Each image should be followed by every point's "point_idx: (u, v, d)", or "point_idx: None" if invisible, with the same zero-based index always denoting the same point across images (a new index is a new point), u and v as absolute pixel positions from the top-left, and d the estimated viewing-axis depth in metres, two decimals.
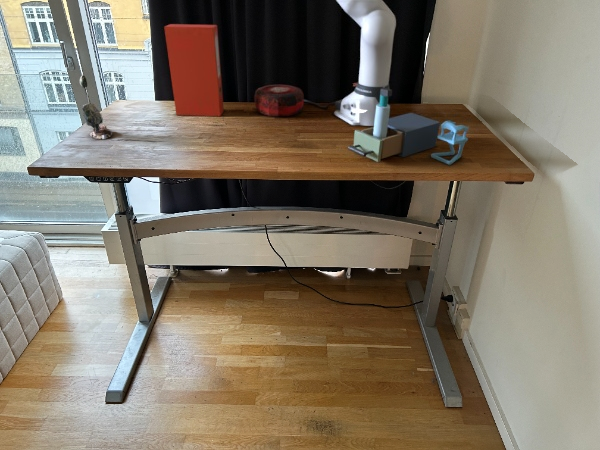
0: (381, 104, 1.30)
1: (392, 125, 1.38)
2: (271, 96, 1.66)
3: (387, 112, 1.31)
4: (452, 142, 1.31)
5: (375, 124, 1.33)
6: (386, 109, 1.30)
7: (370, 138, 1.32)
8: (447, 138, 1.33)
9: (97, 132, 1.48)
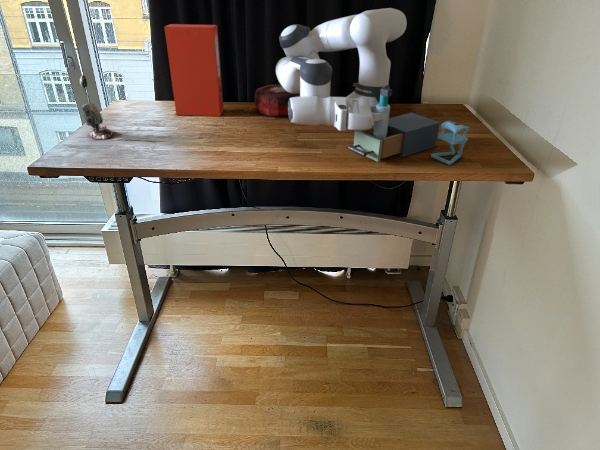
0: (381, 104, 1.30)
1: (392, 125, 1.38)
2: (271, 96, 1.66)
3: (387, 112, 1.31)
4: (452, 142, 1.31)
5: (375, 124, 1.33)
6: (386, 109, 1.30)
7: (370, 138, 1.32)
8: (447, 138, 1.33)
9: (97, 132, 1.48)
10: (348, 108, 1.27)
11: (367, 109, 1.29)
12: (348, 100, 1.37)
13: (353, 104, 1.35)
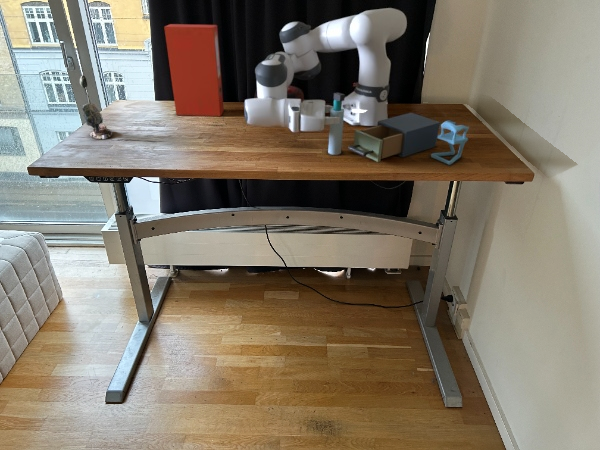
0: (335, 108, 1.32)
1: (392, 125, 1.38)
2: None
3: (340, 117, 1.32)
4: (452, 142, 1.31)
5: (330, 128, 1.35)
6: (340, 113, 1.32)
7: (370, 138, 1.32)
8: (447, 138, 1.33)
9: (97, 132, 1.48)
10: (301, 110, 1.28)
11: (321, 111, 1.31)
12: (304, 102, 1.39)
13: (309, 106, 1.36)
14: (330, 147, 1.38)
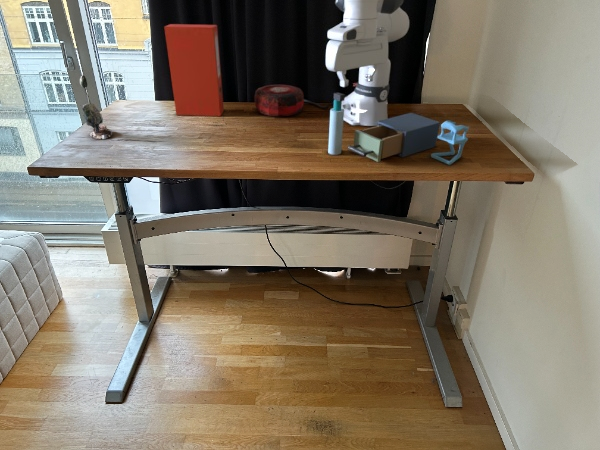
0: (335, 108, 1.32)
1: (392, 125, 1.38)
2: (271, 96, 1.66)
3: (340, 117, 1.32)
4: (452, 142, 1.31)
5: (330, 128, 1.35)
6: (340, 113, 1.32)
7: (370, 138, 1.32)
8: (447, 138, 1.33)
9: (97, 132, 1.48)
10: (351, 42, 1.10)
11: (354, 64, 1.15)
12: (380, 39, 1.17)
13: (371, 46, 1.16)
14: (330, 147, 1.38)
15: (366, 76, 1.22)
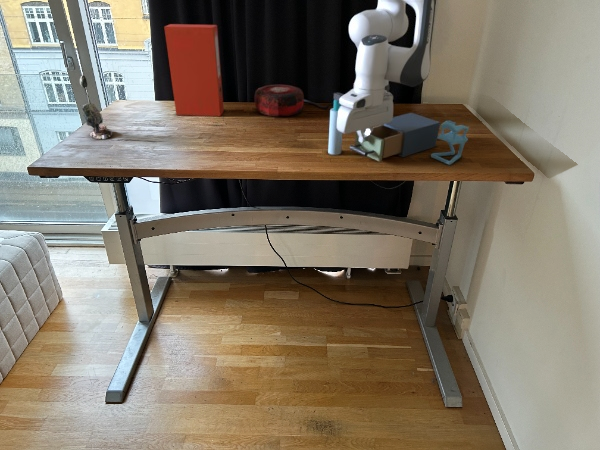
0: (335, 108, 1.32)
1: (392, 125, 1.38)
2: (271, 96, 1.66)
3: None
4: (452, 142, 1.31)
5: (330, 128, 1.35)
6: None
7: (371, 138, 1.32)
8: (447, 138, 1.33)
9: (97, 132, 1.48)
10: (360, 109, 1.23)
11: (362, 127, 1.28)
12: (387, 103, 1.29)
13: (378, 109, 1.29)
14: (330, 147, 1.38)
15: None
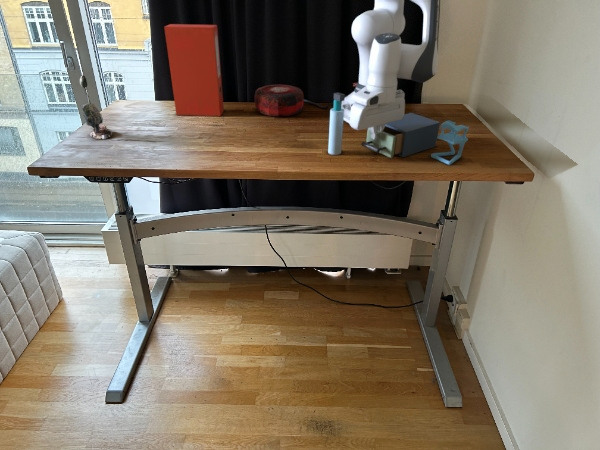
0: (335, 108, 1.32)
1: (392, 125, 1.38)
2: (271, 96, 1.66)
3: (340, 117, 1.32)
4: (452, 142, 1.31)
5: (330, 128, 1.35)
6: (340, 113, 1.32)
7: (383, 134, 1.35)
8: (447, 138, 1.33)
9: (97, 132, 1.48)
10: (373, 106, 1.25)
11: (375, 123, 1.30)
12: (398, 100, 1.32)
13: (390, 107, 1.31)
14: (330, 147, 1.38)
15: None
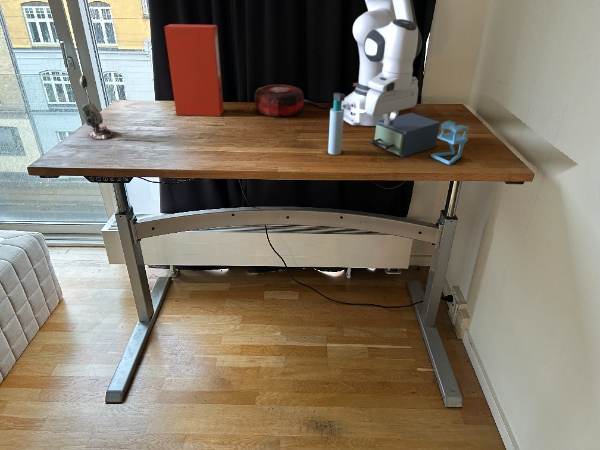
0: (335, 108, 1.32)
1: (392, 125, 1.38)
2: (271, 96, 1.66)
3: (340, 117, 1.32)
4: (452, 142, 1.31)
5: (330, 128, 1.35)
6: (340, 113, 1.32)
7: (392, 132, 1.37)
8: (447, 138, 1.33)
9: (97, 132, 1.48)
10: (389, 92, 1.26)
11: (389, 110, 1.31)
12: (412, 87, 1.33)
13: (404, 93, 1.32)
14: (330, 147, 1.38)
15: None
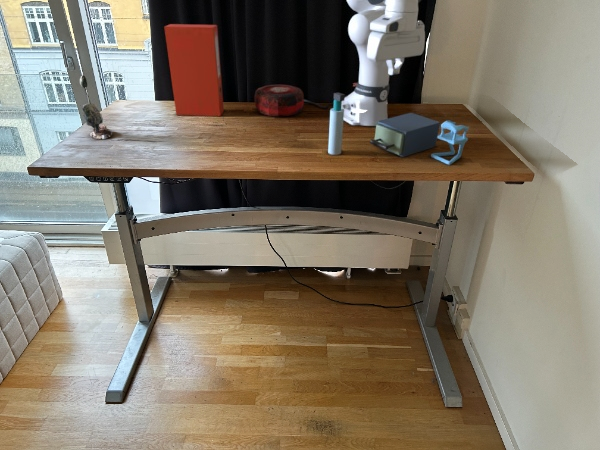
0: (335, 108, 1.32)
1: (392, 125, 1.38)
2: (271, 96, 1.66)
3: (340, 117, 1.32)
4: (452, 142, 1.31)
5: (330, 128, 1.35)
6: (340, 113, 1.32)
7: (392, 132, 1.37)
8: (447, 138, 1.33)
9: (97, 132, 1.48)
10: (392, 33, 1.16)
11: (393, 55, 1.21)
12: (418, 32, 1.23)
13: (409, 38, 1.22)
14: (330, 147, 1.38)
15: None
